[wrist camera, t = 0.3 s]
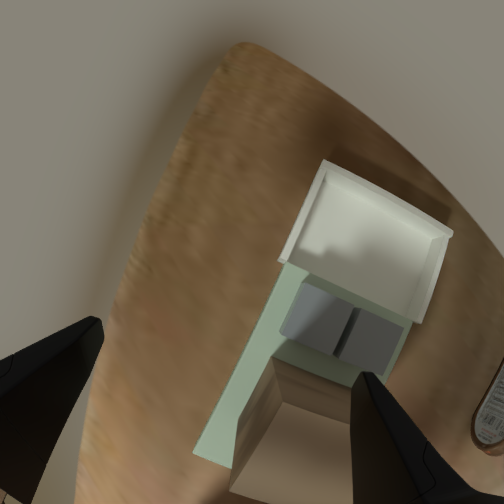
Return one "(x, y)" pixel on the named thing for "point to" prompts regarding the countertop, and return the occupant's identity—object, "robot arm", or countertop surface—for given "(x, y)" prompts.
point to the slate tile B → (368, 341)
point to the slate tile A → (316, 318)
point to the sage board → (276, 345)
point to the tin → (490, 418)
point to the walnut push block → (294, 439)
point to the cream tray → (367, 242)
